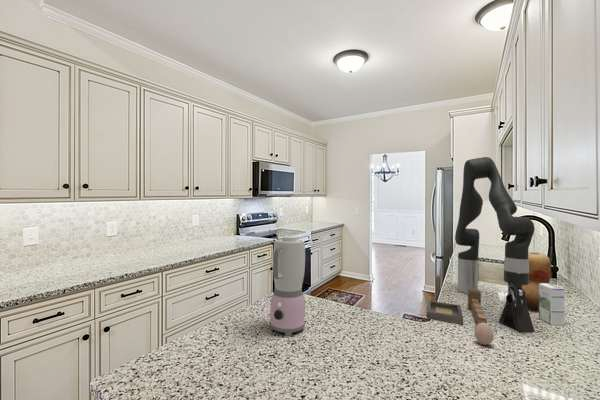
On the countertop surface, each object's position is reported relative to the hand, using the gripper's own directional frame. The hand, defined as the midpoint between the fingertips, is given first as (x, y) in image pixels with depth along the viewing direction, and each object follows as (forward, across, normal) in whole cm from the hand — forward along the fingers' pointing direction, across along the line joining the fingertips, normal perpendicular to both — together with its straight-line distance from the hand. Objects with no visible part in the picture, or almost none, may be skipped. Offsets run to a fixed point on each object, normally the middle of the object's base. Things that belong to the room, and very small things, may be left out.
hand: (515, 313), depth 106 cm
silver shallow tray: (+5, 0, -24) cm, 24 cm away
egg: (+5, +22, -13) cm, 26 cm away
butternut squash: (+5, -29, +12) cm, 32 cm away
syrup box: (+5, -13, +14) cm, 20 cm away
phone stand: (+5, 0, 0) cm, 5 cm away
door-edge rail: (+5, -2, -12) cm, 13 cm away
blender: (+6, +44, -74) cm, 86 cm away
